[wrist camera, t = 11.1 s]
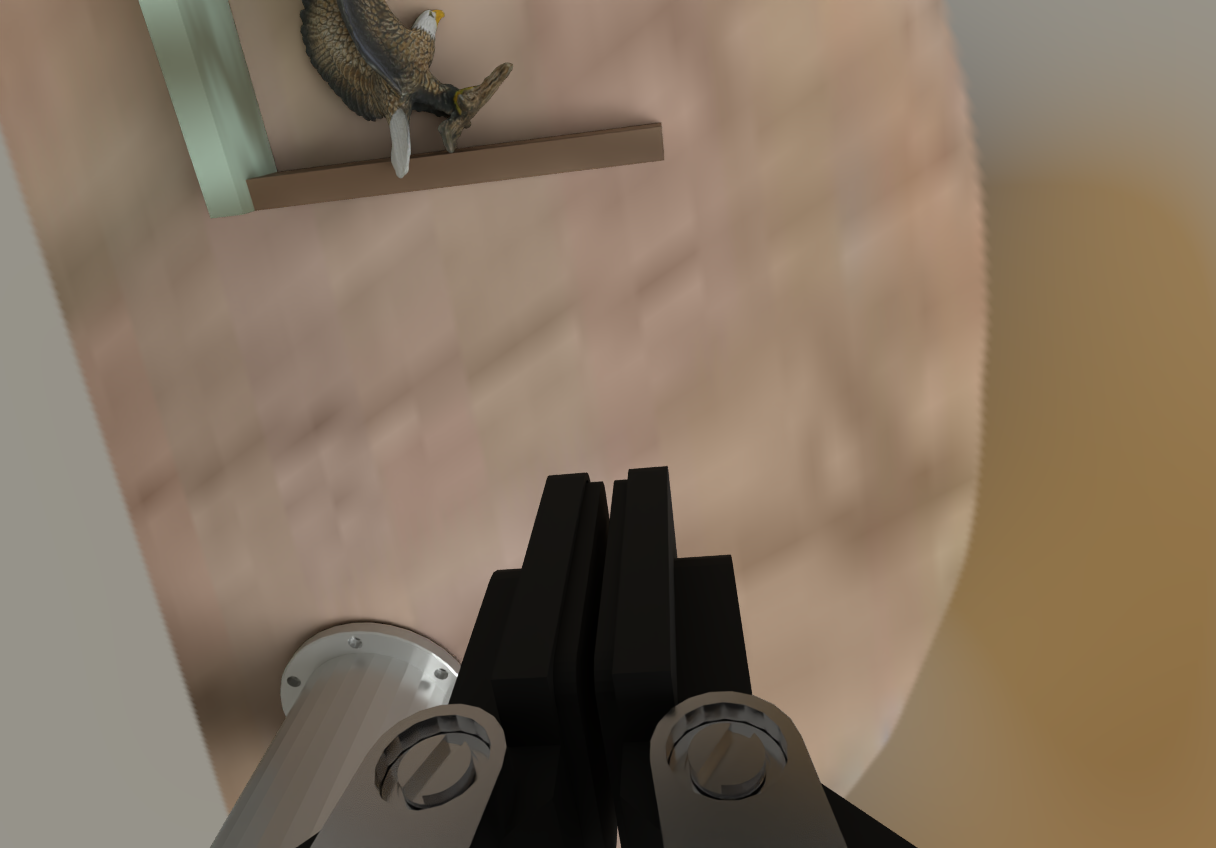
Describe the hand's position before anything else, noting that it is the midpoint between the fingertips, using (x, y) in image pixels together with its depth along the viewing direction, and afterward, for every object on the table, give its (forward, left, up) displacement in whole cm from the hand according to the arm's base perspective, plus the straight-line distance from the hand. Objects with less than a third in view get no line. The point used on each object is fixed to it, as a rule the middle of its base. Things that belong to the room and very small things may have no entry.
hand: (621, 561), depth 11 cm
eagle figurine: (+9, +10, -27) cm, 30 cm away
